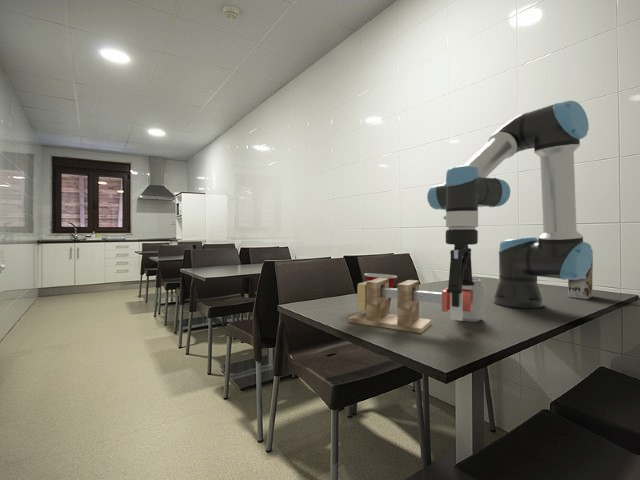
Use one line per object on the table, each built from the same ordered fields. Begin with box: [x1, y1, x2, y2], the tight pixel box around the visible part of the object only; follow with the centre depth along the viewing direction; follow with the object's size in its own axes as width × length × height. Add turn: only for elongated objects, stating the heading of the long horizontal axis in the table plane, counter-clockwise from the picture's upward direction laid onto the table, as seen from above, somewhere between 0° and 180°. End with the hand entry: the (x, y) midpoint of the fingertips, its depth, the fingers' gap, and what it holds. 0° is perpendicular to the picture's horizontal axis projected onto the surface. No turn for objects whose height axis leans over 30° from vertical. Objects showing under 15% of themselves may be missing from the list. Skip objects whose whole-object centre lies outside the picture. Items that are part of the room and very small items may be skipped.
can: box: [461, 277, 484, 323], centre depth 101 cm, size 8×8×12 cm
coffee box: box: [567, 257, 594, 300], centre depth 133 cm, size 9×6×16 cm
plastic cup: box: [364, 272, 398, 309], centre depth 114 cm, size 11×11×12 cm
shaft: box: [356, 286, 473, 313], centre depth 94 cm, size 31×9×5 cm, turn 58°
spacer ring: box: [357, 281, 367, 311], centre depth 101 cm, size 2×7×7 cm, turn 147°
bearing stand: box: [348, 278, 433, 334], centre depth 97 cm, size 21×10×12 cm, turn 58°
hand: (461, 314), depth 87 cm, fingers open, 11 cm apart
